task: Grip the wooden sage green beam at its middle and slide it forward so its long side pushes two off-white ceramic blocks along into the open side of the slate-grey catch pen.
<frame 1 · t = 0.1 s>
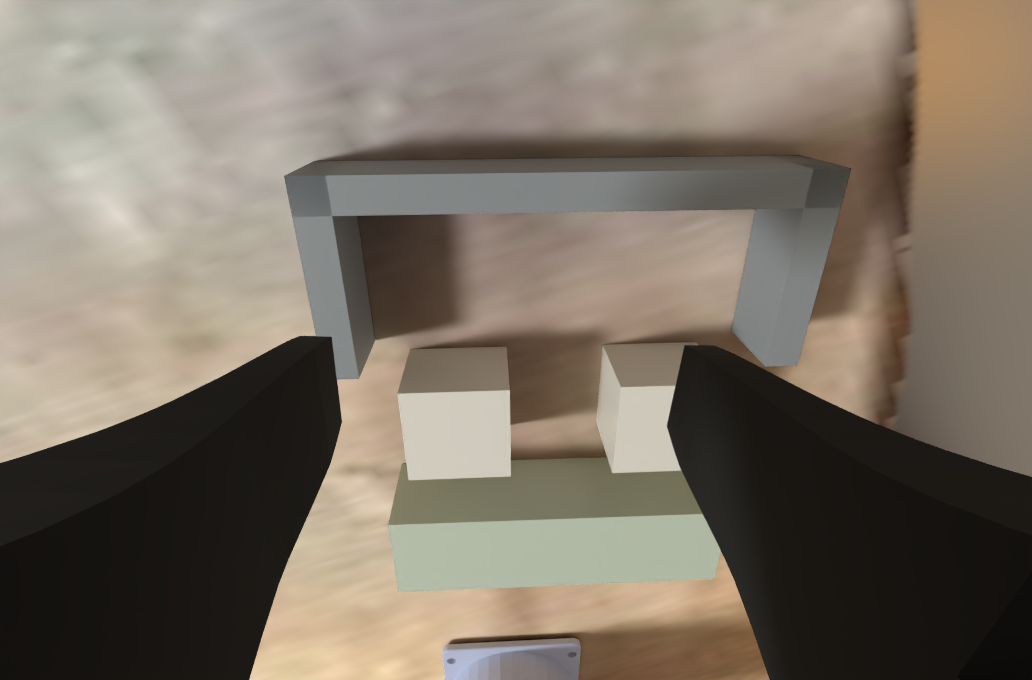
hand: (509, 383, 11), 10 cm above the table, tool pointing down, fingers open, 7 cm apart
block a: (643, 382, 23), on the table
sage green beam: (549, 487, 26), on the table
catch pen: (558, 254, 20), on the table
block b: (461, 387, 23), on the table
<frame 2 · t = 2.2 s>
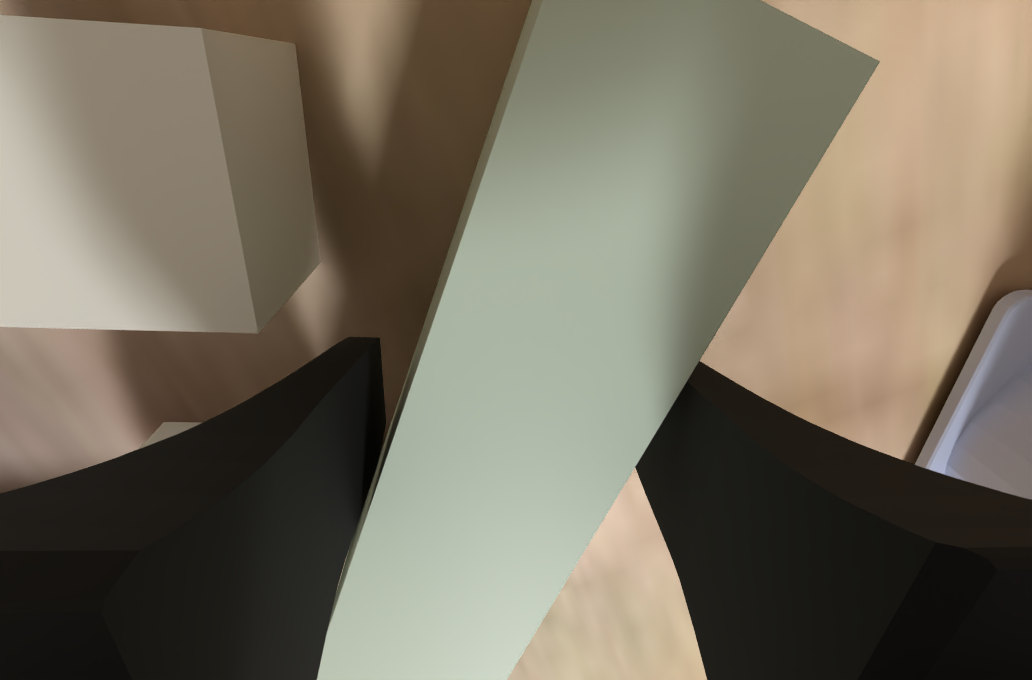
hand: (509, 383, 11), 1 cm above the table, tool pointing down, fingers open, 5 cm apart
block a: (204, 156, 10), on the table
sage green beam: (507, 347, 12), on the table
block b: (265, 483, 14), on the table
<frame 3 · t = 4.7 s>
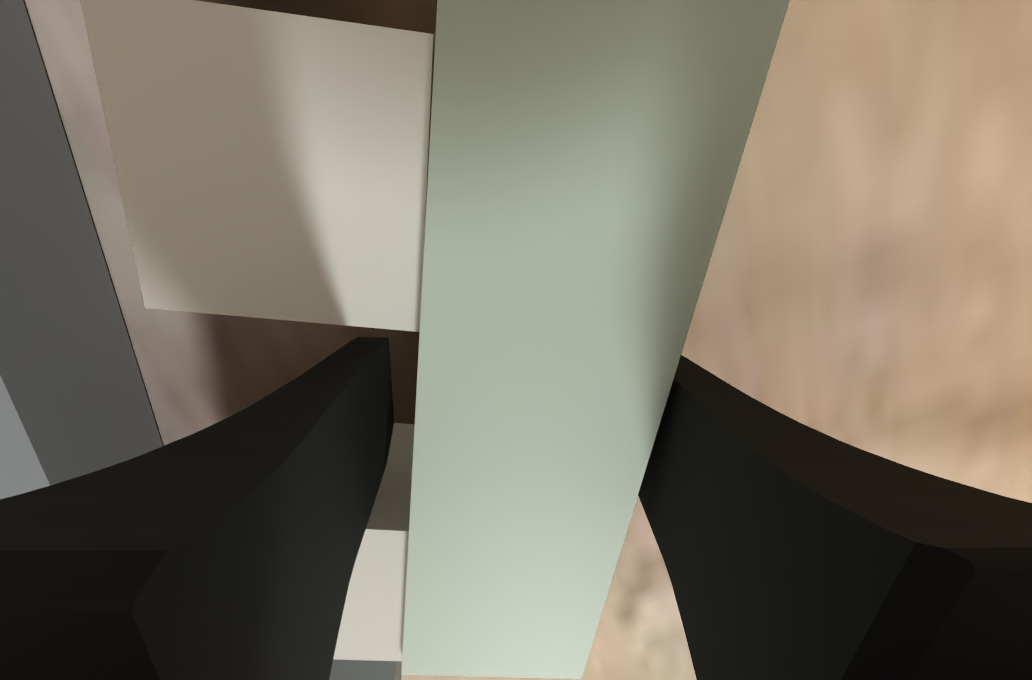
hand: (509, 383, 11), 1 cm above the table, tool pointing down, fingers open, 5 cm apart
block a: (341, 151, 10), on the table
sage green beam: (524, 315, 12), on the table, touching gripper
catch pen: (238, 345, 12), on the table
block b: (347, 479, 14), on the table
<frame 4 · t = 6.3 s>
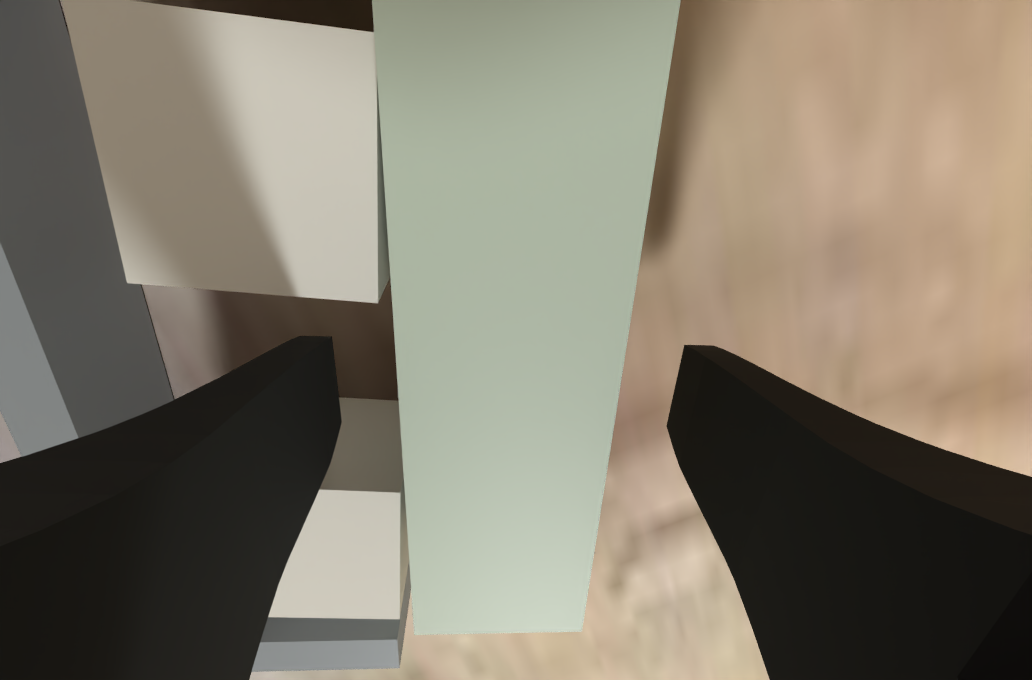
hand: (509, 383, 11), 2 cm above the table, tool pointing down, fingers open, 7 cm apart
block a: (310, 142, 11), on the table
sage green beam: (503, 297, 13), on the table
catch pen: (252, 326, 13), on the table
block b: (345, 455, 15), on the table
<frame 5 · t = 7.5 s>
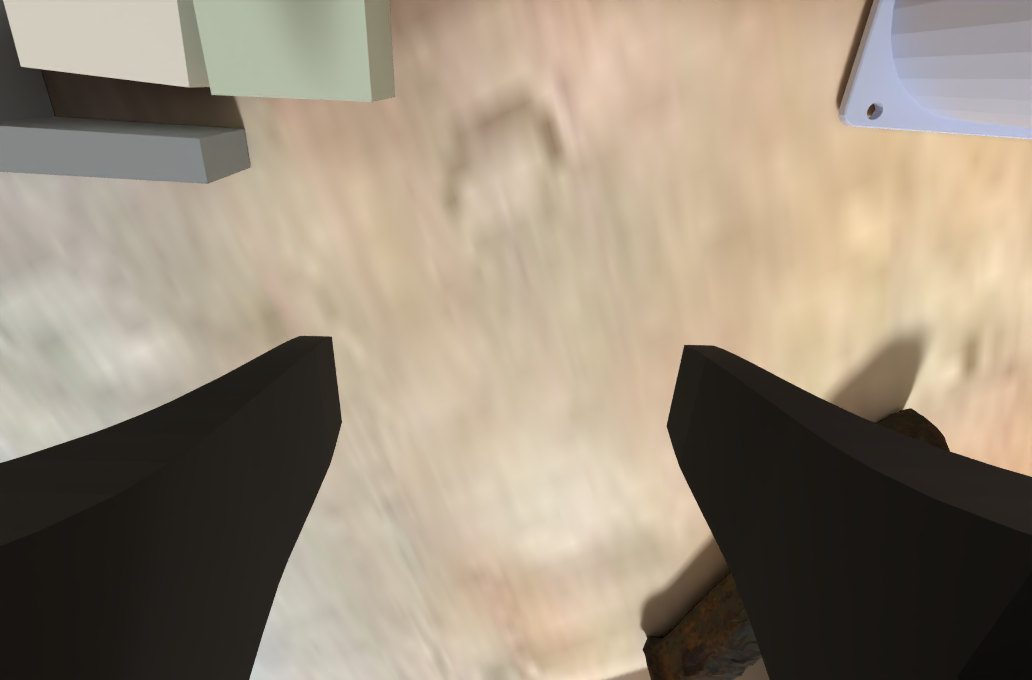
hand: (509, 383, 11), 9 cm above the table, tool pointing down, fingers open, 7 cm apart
hand tool: (755, 534, 27), on the table
block b: (168, 2, 15), on the table
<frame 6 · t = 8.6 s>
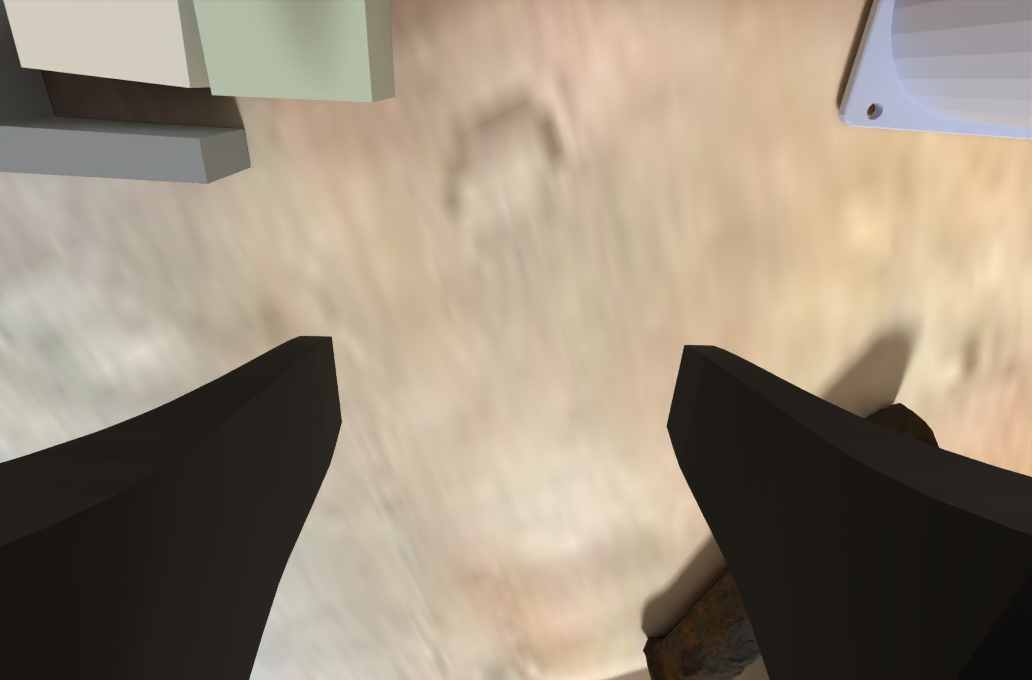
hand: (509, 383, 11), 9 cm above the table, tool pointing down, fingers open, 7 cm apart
hand tool: (751, 532, 27), on the table
block b: (168, 2, 15), on the table
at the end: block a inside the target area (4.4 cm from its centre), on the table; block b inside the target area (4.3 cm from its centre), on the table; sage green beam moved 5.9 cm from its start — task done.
